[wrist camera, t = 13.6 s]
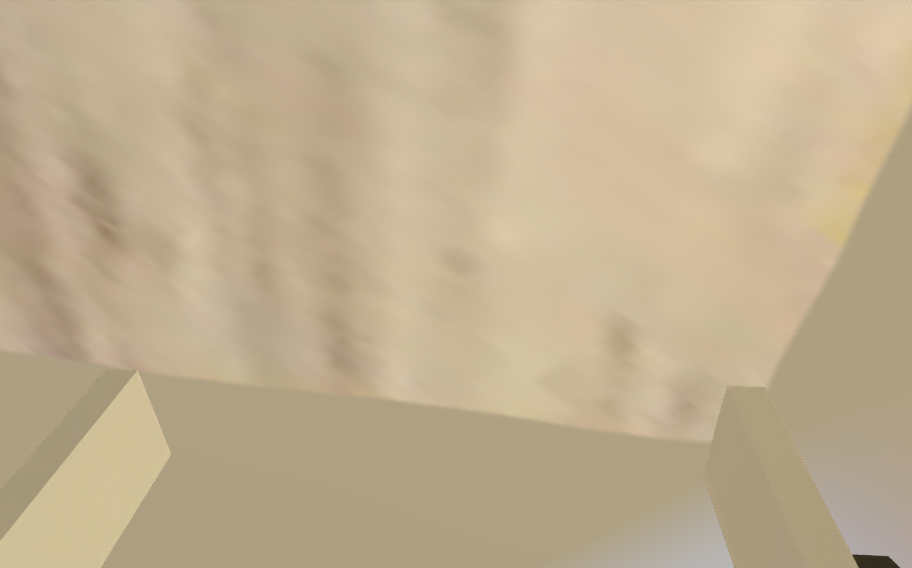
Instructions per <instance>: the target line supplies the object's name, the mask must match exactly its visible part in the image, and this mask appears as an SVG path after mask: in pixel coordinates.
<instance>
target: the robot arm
mask: <svg viewBox="0 0 912 568" xmlns="http://www.w3.org/2000/svg"><path fill="white" fill-rule="evenodd" d="M170 455H171V453H170V450H169V448H168V445H167V443H166V440H165V438H164V435H163V433H162V430H161V428H160V425H159V423H158V420H157V418H156V415H155V413H154V410H153V408H152V405H151V403H150V400H149V398H148V395H147V393H146V390H145V388H144V385H143V383H142V380H141V378H140V375H139V373H138V370H110V369H106V370H105V371H104V372H103V374H102V375H101V376H100V377H99V378H98V379H97V380H96V382H95V383H94V384H93V385H92V386H91V387H90V388H89V390H88V391H87V392H86V393H85V394H84V395H83V397H82V398H81V399H80V400H79V401H78V402H77V403H76V404H75V406H74V407H73V408H72V409H71V410H70V411H69V412H68V414H67V415H66V416H65V417H64V418H63V419H62V420H61V422H60V423H59V424H58V425H57V426H56V427H55V428H54V430H53V431H52V432H51V433H50V434H49V435H48V436H47V438H46V439H45V440H44V441H43V442H42V443H41V444H40V446H39V447H38V448H37V449H36V450H35V452H33V454H32V455H31V456H30V457H29V458H28V459H27V460H26V462H25V463H24V464H23V465H22V466H21V467H20V468H19V470H18V471H17V472H16V473H15V474H14V475H13V476H12V478H11V479H10V480H9V481H8V482H7V484H5V486H4V487H3V488H2V489H1V490H0V568H101V566H102V565H103V563H104V561H105V560H106V558H107V557H108V555H109V553H110V552H111V550H112V549H113V547H114V545H115V544H116V542H117V541H118V539H119V537H120V536H121V534H122V532H123V531H124V529H125V528H126V526H127V524H128V523H129V521H130V520H131V518H132V516H133V515H134V513H135V512H136V510H137V508H138V507H139V505H140V504H141V502H142V500H143V499H144V497H145V495H146V494H147V492H148V491H149V489H150V487H151V486H152V484H153V483H154V481H155V479H156V478H157V476H158V475H159V473H160V471H161V470H162V468H163V467H164V465H165V463H166V462H167V460H168V458H169V457H170ZM703 476H704V478H705V482H706V485H707V487H708V490H709V494H710V496H711V500H712V502H713V505H714V509H715V512H716V515H717V518H718V521H719V523H720V526H721V529H722V532H723V535H724V538H725V541H726V544H727V547H728V550H729V553H730V556H731V559H732V562H733V565H734V568H900V567H899V566H898V565H897V564H896V563H895V562H894V561H893V560H892V559H890V558H889V557H888V556H872V555H852V554H851V552H850V550H849V548H848V546H847V544H846V542H845V541H844V539H843V537H842V535H841V533H840V531H839V529H838V527H837V525H836V523H835V522H834V519H833V518H832V516H831V514H830V512H829V510H828V508H827V506H826V504H825V502H824V500H823V498H822V496H821V495H820V493H819V491H818V489H817V487H816V485H815V483H814V481H813V479H812V477H811V475H810V473H809V472H808V470H807V468H806V466H805V464H804V462H803V460H802V458H801V456H800V454H799V452H798V451H797V449H796V447H795V445H794V443H793V441H792V439H791V437H790V435H789V433H788V432H787V429H786V428H785V426H784V424H783V422H782V420H781V418H780V416H779V414H778V412H777V410H776V408H775V406H774V405H773V403H772V401H771V399H770V397H769V395H768V393H767V391H766V389H765V387H741V386H727V388H726V391H725V395H724V399H723V403H722V406H721V410H720V414H719V418H718V421H717V425H716V429H715V433H714V436H713V440H712V444H711V448H710V451H709V455H708V459H707V463H706V466H705V470H704V474H703Z"/></svg>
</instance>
